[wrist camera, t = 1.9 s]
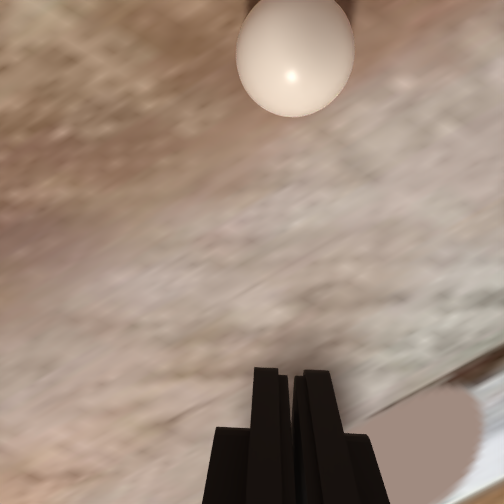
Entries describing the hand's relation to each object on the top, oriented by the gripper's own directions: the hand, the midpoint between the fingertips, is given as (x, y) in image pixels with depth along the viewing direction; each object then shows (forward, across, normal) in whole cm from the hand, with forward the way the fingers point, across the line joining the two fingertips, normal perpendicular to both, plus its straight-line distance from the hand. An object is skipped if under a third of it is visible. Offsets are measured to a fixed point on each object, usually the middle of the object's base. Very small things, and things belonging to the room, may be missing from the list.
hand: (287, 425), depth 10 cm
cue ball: (+14, 0, -10) cm, 17 cm away
